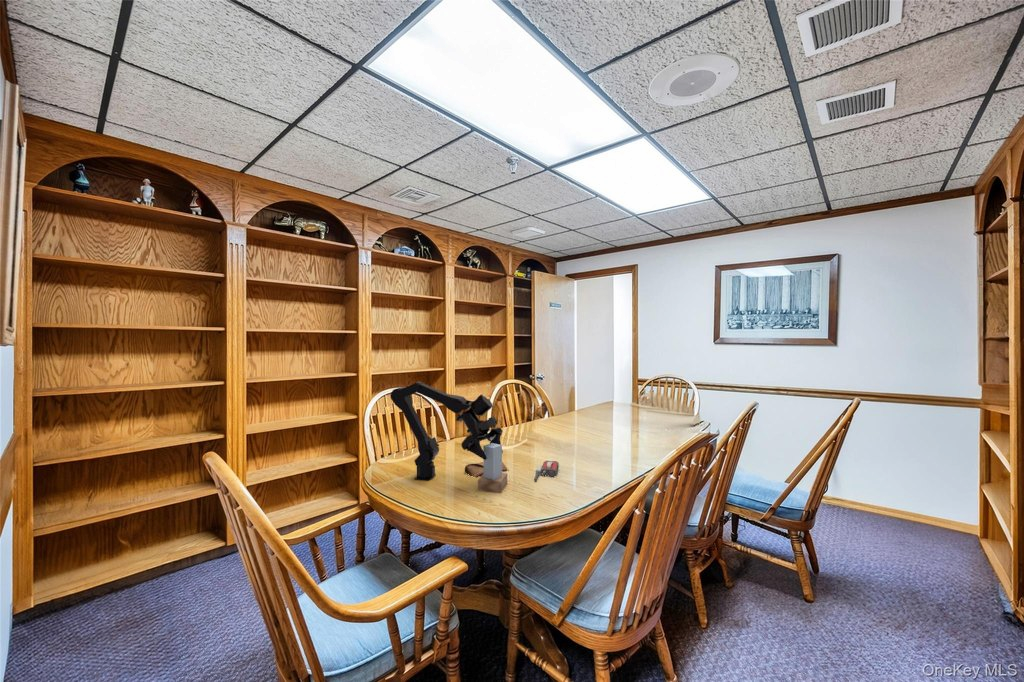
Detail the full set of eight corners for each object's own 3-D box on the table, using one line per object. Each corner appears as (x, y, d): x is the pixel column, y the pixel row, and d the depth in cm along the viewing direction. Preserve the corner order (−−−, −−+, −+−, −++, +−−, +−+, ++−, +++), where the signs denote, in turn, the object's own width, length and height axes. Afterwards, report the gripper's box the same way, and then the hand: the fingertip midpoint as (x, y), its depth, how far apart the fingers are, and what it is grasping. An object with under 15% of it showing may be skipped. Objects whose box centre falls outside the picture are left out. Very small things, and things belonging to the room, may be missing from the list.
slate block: (483, 477, 151) (483, 445, 150) (492, 473, 155) (492, 442, 154) (493, 480, 148) (493, 448, 147) (502, 476, 151) (501, 445, 151)
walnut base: (478, 490, 148) (478, 479, 148) (485, 481, 157) (485, 471, 157) (501, 492, 146) (501, 481, 146) (507, 483, 154) (507, 473, 154)
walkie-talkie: (539, 466, 176) (532, 482, 156) (539, 456, 176) (532, 471, 156) (559, 467, 174) (554, 484, 154) (559, 457, 174) (554, 473, 154)
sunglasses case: (473, 478, 160) (469, 462, 163) (466, 482, 165) (463, 466, 168) (510, 470, 170) (506, 454, 173) (503, 474, 175) (499, 459, 178)
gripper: (466, 414, 146) (488, 449, 140) (499, 407, 161) (520, 438, 154) (452, 432, 151) (472, 467, 145) (485, 423, 166) (505, 455, 159)
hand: (494, 456), depth 150 cm, fingers open, 9 cm apart
